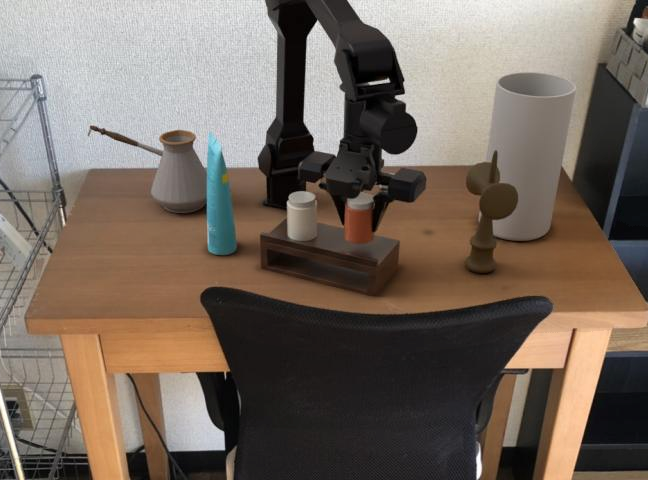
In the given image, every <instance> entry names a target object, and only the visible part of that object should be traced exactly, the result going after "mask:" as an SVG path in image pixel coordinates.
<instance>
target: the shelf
mask: <svg viewBox="0 0 648 480" xmlns="http://www.w3.org/2000/svg"><path fill="white" fill-rule="evenodd" d="M259 240H260V241H259V243H260V245H259V246H260V269H263V270H267V271H270V272H275V273H278V274H281V275H282V274H283V275H287V276H291V277H295V278H299V279H303V280H306V281H311V282H313V283H318V284H322V285H327V286H331V287H333V288H338V289H343V290H347V291H350V292H355V293H360V294H363V295H367V296H371V297H376V296H377V294H378V293H379V292H380V291H381V290H382V289H383V287H384V286H385V285H386V283H387V282H388V281H389V280H390V278H391V277H392V276H393V275H394V273H395V272H397V270H398V269H399V260H400V243H401V240H398V239H394V238H390V237H385V236H381V235H377V234H375V238H374V240H373V241H371V242H369V243H364V244H356V243H351V242H349V241H347V240H346V239H345V238H344V227H342V226H341V227H340V226H336V225H331V224H326V223H322V222H318V221H317V236H316V237H315V238H314V239H311V240H308V241H298V240H294V239H291V238H289V237H288V234H287V217H286V218H285V219H283V220H282V221H281V222H280V223H279V224H278V225H276V226H275V227H274V228H273V229H272V230H271V231H270V232H268V233H267V232H264V231H262V232H260V234H259Z"/></svg>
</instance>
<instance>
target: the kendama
mask: <svg viewBox="0 0 648 480" xmlns="http://www.w3.org/2000/svg"><path fill="white" fill-rule="evenodd" d="M497 159H498V152H497V150H495V151H494V153H493V157H492V162H491V163H489V162H486V161H482V162H479V163H475V164H474V165H473V166H471V167H470V169H469V170H467V171H468V172H467V174H466V177H465V184H466V185H465V187H466V189H467V191H468V192H469V193H471V194H472V195H475V196H480V197H479V201H478V206H479V207H478V208H479V209H478V210H479V212H481V213H482V214H481V218H480V221H479V220H478V225H477V228H476V230H475V233H474V235H473V236H471V237H470V239H469V244H470V246H471V247H470V253H469V255H468V256H467V257H466V258H465V260H464V265H465V267H466V268H467V270H469V271H471V272H474V273H478V274H486V273H491V272H492V271H494V270H495V269H496V268H497V264H496V261H495V259H494V250H495V249H496V247H497V246H498V241H497V239H495V236H493V220H500V219H504V218H506V217H508V216H510V215H511V214H512V213H513V211H514V210H515V209H516V206H517V203H518V193H517V191H516V188H515V187H514V186H512V185H510V184H508V183H499V182H500V171H499V169H498V167H497Z"/></svg>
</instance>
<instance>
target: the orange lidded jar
mask: <svg viewBox="0 0 648 480" xmlns="http://www.w3.org/2000/svg"><path fill="white" fill-rule="evenodd" d="M374 196H375V195H373V194H370V193H367V192H360V194H359V196H358V197H356V198H354V199H349V198H347V201H346V202H345V217H344V225H343V228H344V238H345V239H346V240H347V241H349V242H351V243H356V244H364V243H369V242H371V241H373V240H374V238H375V235H376V232H373V231H372V222H373V214H374V206H375V203H374V200H373V197H374Z"/></svg>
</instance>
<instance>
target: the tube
mask: <svg viewBox="0 0 648 480" xmlns="http://www.w3.org/2000/svg"><path fill="white" fill-rule="evenodd" d="M223 148H224V147H223V146H222V144H221V143H220V141H219V140H218V139H217V137H216V136H215V134H214V133H212V131H211V130H208V140H207V152H206V153H207V156H206V172H207V203H206V232H207V235H206V236H207V250H208V252H209V253H210V254H213V255H215V256H227V255H231V254H233V253H235V252H236V250H237V248H238V245H237V235H236V227H235V226H236V225H235V215H234V209H233V201H232V200H233V199H232V193H231V186H230V181H229V174H228V170H227V165H226V161H225V157H224V153H223V151H222V150H223Z"/></svg>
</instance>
